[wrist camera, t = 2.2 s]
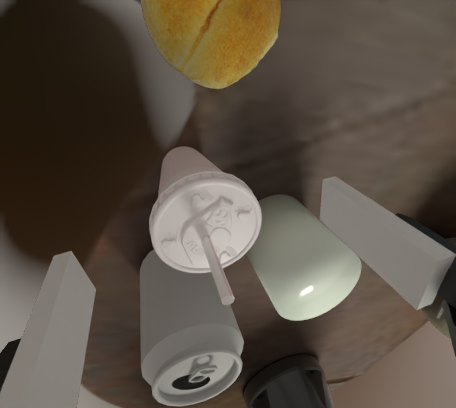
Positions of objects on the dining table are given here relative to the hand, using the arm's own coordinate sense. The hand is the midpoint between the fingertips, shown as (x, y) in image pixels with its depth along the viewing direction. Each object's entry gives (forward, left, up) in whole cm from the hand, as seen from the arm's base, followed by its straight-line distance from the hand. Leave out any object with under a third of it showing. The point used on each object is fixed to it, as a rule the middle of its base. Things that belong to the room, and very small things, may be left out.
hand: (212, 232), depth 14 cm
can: (-10, +4, -11) cm, 15 cm away
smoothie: (0, 0, -11) cm, 11 cm away
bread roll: (+10, -5, -11) cm, 15 cm away
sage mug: (-10, -7, -10) cm, 16 cm away
